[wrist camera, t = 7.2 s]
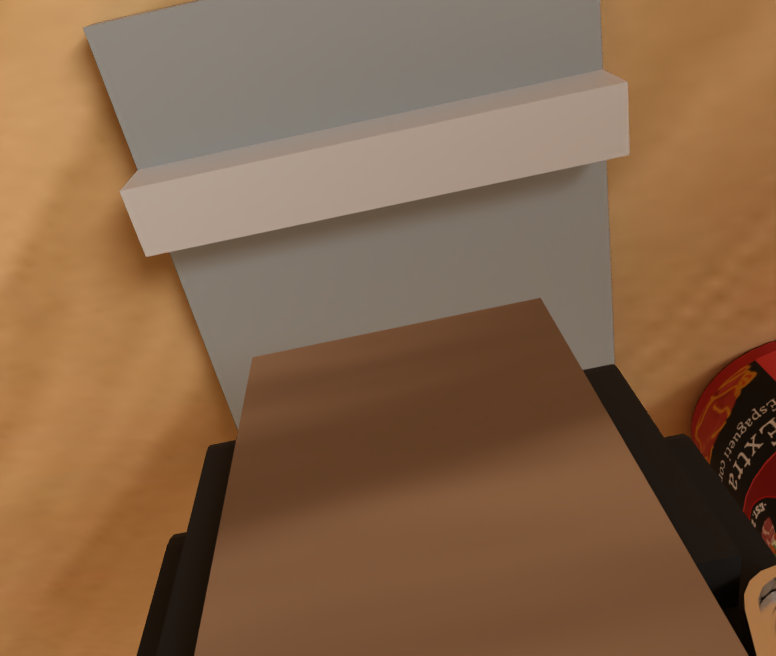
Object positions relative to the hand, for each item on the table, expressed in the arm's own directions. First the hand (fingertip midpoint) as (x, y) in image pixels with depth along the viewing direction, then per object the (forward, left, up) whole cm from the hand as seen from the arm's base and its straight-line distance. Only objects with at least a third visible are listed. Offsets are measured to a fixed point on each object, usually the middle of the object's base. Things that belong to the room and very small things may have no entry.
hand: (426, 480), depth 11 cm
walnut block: (0, 0, -2) cm, 2 cm away
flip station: (+3, 0, -13) cm, 14 cm away
